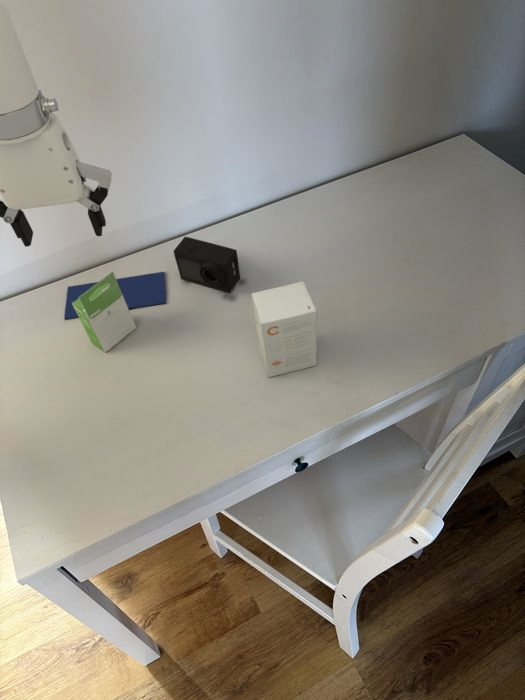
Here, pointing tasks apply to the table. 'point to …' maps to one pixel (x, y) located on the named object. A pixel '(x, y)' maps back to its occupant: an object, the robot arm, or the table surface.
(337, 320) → the table surface
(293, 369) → the small box
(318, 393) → the table surface
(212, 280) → the digital camera
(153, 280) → the cloth
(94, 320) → the ink box
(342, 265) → the table surface
